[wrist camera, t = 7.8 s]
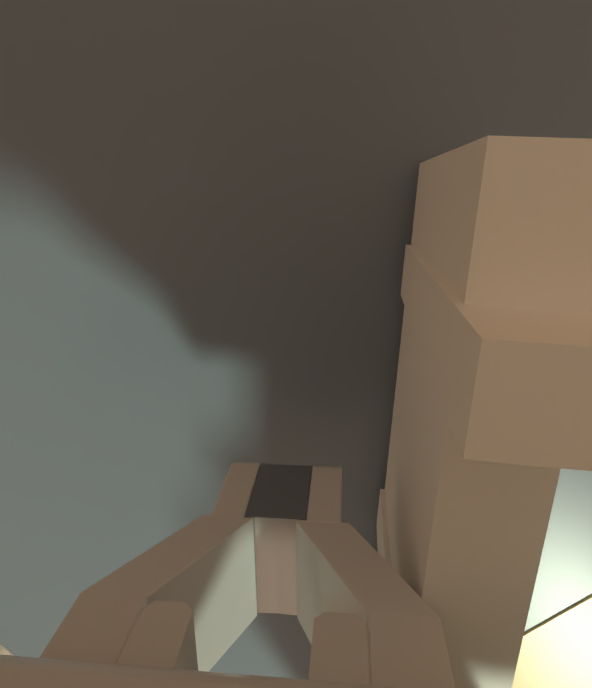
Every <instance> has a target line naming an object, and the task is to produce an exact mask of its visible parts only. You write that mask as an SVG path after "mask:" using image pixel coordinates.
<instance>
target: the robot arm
mask: <svg viewBox="0 0 592 688" xmlns="http://www.w3.org/2000/svg"><path fill="white" fill-rule="evenodd" d="M341 492H342V468H341V466H305V465H286V464H270V463H261V464H260V463H259V462H234V463H232V464H231V465H230V468H229V470H228V473H227V475H226V478H225V480H224V483H223V485H222V488H221V490H220V493H219V495H218V498H217V500H216V503H215V505H214V508H213V511H212V513H211V516H208V515H202V516H201V517H199V518H197V519H196V520H194V521H193V522H191V523H189V524H188V525H186V526H185V527H183V528H182V529H180V530H178V531H177V532H175V533H174V534H172V535H171V536H169V537H167V538H166V539H164V540H163V541H161V542H160V543H158V544H156V545H155V546H153V547H152V548H150V549H149V550H147V551H145V552H144V553H142V554H141V555H139V556H137V557H136V558H134V559H133V560H131V561H130V562H128V563H126V564H125V565H123V566H122V567H120V568H119V569H117V570H115V571H114V572H112V573H111V574H109V575H108V576H106V577H104V578H103V579H101V580H100V581H98V582H96V583H95V584H93V585H92V586H90V587H89V588H87V589H85V590H84V591H82V592H81V593H80V595H79V596H78V598H77V599H76V601H75V603H74V604H73V606H72V607H71V609H70V610H69V612H68V614H67V615H66V617H65V618H64V620H63V621H62V623H61V625H60V626H59V628H58V629H57V631H56V632H55V634H54V635H53V637H52V639H51V640H50V642H49V643H48V645H47V646H46V648H45V650H44V651H43V653H42V654H41V656H40V657H39V658H35V657H23V656H11V655H0V688H455V683H454V678H453V673H452V669H451V664H450V659H449V655H448V650H447V645H446V641H445V636H444V631H443V627H442V622H441V618H440V617H439V616H438V615H437V614H436V613H435V612H434V611H433V610H432V609H431V608H430V607H429V605H428V604H427V603H426V602H425V601H424V600H423V599H422V598H421V597H420V596H419V595H418V594H417V593H416V592H415V591H414V590H413V589H412V588H411V587H410V586H409V585H408V584H407V583H406V582H405V580H404V579H403V578H402V577H401V576H400V575H399V574H398V573H397V572H396V571H395V570H394V569H393V568H392V567H391V566H390V565H389V564H388V563H387V562H386V561H385V560H384V559H383V558H382V557H381V555H380V554H379V553H378V552H377V551H376V550H375V549H374V548H373V547H372V546H371V545H370V544H369V543H368V542H367V541H366V540H365V539H364V538H363V537H362V536H361V535H360V534H359V533H358V532H357V531H356V529H355V528H354V527H353V526H352V525H351V524H350V523H341ZM257 613H278V614H288V615H297V618H298V620H299V622H300V624H301V626H302V628H303V630H304V632H305V634H306V636H307V638H308V640H309V641H310V643H311V645H312V646H311V657H310V668H309V679H295V678H283V677H270V676H258V675H245V674H233V673H220V672H209V671H210V669H211V668H212V667H213V666H214V665H215V664H216V663H217V661H218V660H219V659H220V658H221V657H222V656H223V654H224V653H225V652H226V651H227V650H228V649H229V647H230V646H231V645H232V644H233V643H234V642H235V641H236V639H237V638H238V637H239V636H240V635H241V634H242V632H243V631H244V630H245V629H246V628H247V627H248V626H249V624H250V623H251V622H252V621H253V620H254V619H255V617H256V616H257Z"/></svg>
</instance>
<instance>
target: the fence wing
mask: <svg viewBox="0 0 592 688" xmlns="http://www.w3.org/2000/svg"><path fill="white" fill-rule="evenodd" d="M401 297H402V300H403V303H404V314H403V323H402V332H401V342H400V351H399V360H398V370H397V379H396V388H395V398H394V407H393V416H392V426H391V435H390V444H389V453H388V463H387V472H386V481H385V489H380V496H379V505H378V515H377V524H376V529H377V549H378V553H379V554H380V555H381V557H382V558H383V559H384V560H385V561H386V562H387V563H388V564H389V565H390V566H391V567H392V568H393V569H394V570H395V571H396V572H397V573H398V574H399V575H400V576H401V577H402V578H403V579H404V580H405V582H406V583H407V584H408V585H409V586H410V587H411V588H412V589H413V590H414V591H415V592H416V593H417V594H418V595H419V596H420V597H421V598H422V599H423V600H424V601H425V602H426V603H427V604H428V605H429V607H430V608H431V609H432V610H433V611H434V612H435V613H436V614H437V615H438V616H439V617H440V618H441V622H442V627H443V631H444V636H445V641H446V645H447V650H448V655H449V659H450V664H451V669H452V673H453V678H454V683H455V688H512V684H513V680H514V675H515V671H516V666H517V662H518V657H519V653H520V649H521V644H522V640H523V635H524V631H525V626H526V622H527V617H528V613H529V608H530V604H531V600H532V595H533V591H534V586H535V582H536V577H537V573H538V568H539V564H540V559H541V555H542V551H543V546H544V542H545V537H546V533H547V528H548V524H549V519H550V515H551V510H552V506H553V502H554V497H555V493H556V488H557V484H558V479H559V475H560V470H561V468H562V469H572V470H583V471H592V139H586V138H554V137H523V136H491V135H488V136H486V137H483V138H481V139H478V140H476V141H473V142H471V143H468V144H466V145H463V146H461V147H458V148H456V149H453V150H451V151H449V152H446V153H444V154H441V155H439V156H436V157H434V158H431V159H429V160H426V161H424V162H421V163H420V165H419V174H418V184H417V193H416V202H415V211H414V221H413V230H412V239H411V245H407V244H406V247H405V256H404V266H403V275H402V285H401Z"/></svg>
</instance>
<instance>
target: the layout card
mask: <svg viewBox="0 0 592 688" xmlns="http://www.w3.org/2000/svg"><path fill="white" fill-rule="evenodd" d="M488 135H491V136H523V137H554V138H586V139H592V0H0V644H1V645H3V646H4V647H5V648H6V649H7V650H9V651H10V652H11V653H12V654H14V655H15V656H23V657H35V658H39V657H40V656H41V654H42V653H43V651H44V650H45V648H46V646H47V645H48V643H49V642H50V640H51V639H52V637H53V635H54V634H55V632H56V631H57V629H58V628H59V626H60V625H61V623H62V621H63V620H64V618H65V617H66V615H67V614H68V612H69V610H70V609H71V607H72V606H73V604H74V603H75V601H76V599H77V598H78V596H79V595H80V593H81V592H82V591H84V590H85V589H87V588H89V587H90V586H92V585H93V584H95V583H96V582H98V581H100V580H101V579H103V578H104V577H106V576H108V575H109V574H111V573H112V572H114V571H115V570H117V569H119V568H120V567H122V566H123V565H125V564H126V563H128V562H130V561H131V560H133V559H134V558H136V557H137V556H139V555H141V554H142V553H144V552H145V551H147V550H149V549H150V548H152V547H153V546H155V545H156V544H158V543H160V542H161V541H163V540H164V539H166V538H167V537H169V536H171V535H172V534H174V533H175V532H177V531H178V530H180V529H182V528H183V527H185V526H186V525H188V524H189V523H191V522H193V521H194V520H196V519H197V518H199V517H201V516H202V515H208V516H211V513H212V511H213V508H214V505H215V503H216V500H217V498H218V495H219V493H220V490H221V488H222V485H223V483H224V480H225V478H226V475H227V473H228V470H229V468H230V465H231V464H232V463H234V462H259V463H260V464H261V463H270V464H286V465H305V466H341V468H342V492H341V523H350V524H351V525H352V526H353V527H354V528H355V529H356V531H357V532H358V533H359V534H360V535H361V536H362V537H363V538H364V539H365V540H366V541H367V542H368V543H369V544H370V545H371V546H372V547H373V548H374V549H375V550H376V551H377V552H378V549H377V529H376V524H377V515H378V505H379V496H380V489H385V481H386V472H387V463H388V453H389V444H390V435H391V426H392V416H393V407H394V398H395V388H396V379H397V370H398V360H399V351H400V342H401V332H402V323H403V314H404V303H403V300H402V297H401V285H402V275H403V266H404V256H405V247H406V244H407V245H411V239H412V230H413V221H414V211H415V202H416V193H417V184H418V174H419V165H420V163H421V162H424V161H426V160H429V159H431V158H434V157H436V156H439V155H441V154H444V153H446V152H449V151H451V150H453V149H456V148H458V147H461V146H463V145H466V144H468V143H471V142H473V141H476V140H478V139H481V138H483V137H486V136H488ZM311 646H312V645H311V643H310V641H309V640H308V638H307V636H306V634H305V632H304V630H303V628H302V626H301V624H300V622H299V620H298V618H297V615H288V614H278V613H257V616H256V617H255V619H254V620H253V621H252V622H251V623H250V624H249V626H248V627H247V628H246V629H245V630H244V631H243V632H242V634H241V635H240V636H239V637H238V638H237V639H236V641H235V642H234V643H233V644H232V645H231V646H230V647H229V649H228V650H227V651H226V652H225V653H224V654H223V656H222V657H221V658H220V659H219V660H218V661H217V663H216V664H215V665H214V666H213V667H212V668H211V669H210V671H209V672H220V673H233V674H245V675H258V676H270V677H283V678H295V679H309V668H310V657H311ZM512 688H592V471H583V470H572V469H562V468H561V470H560V475H559V479H558V484H557V488H556V493H555V497H554V502H553V506H552V510H551V515H550V519H549V524H548V528H547V533H546V537H545V542H544V546H543V551H542V555H541V559H540V564H539V568H538V573H537V577H536V582H535V586H534V591H533V595H532V600H531V604H530V608H529V613H528V617H527V622H526V626H525V631H524V635H523V640H522V644H521V649H520V653H519V657H518V662H517V666H516V671H515V675H514V680H513V684H512Z"/></svg>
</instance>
